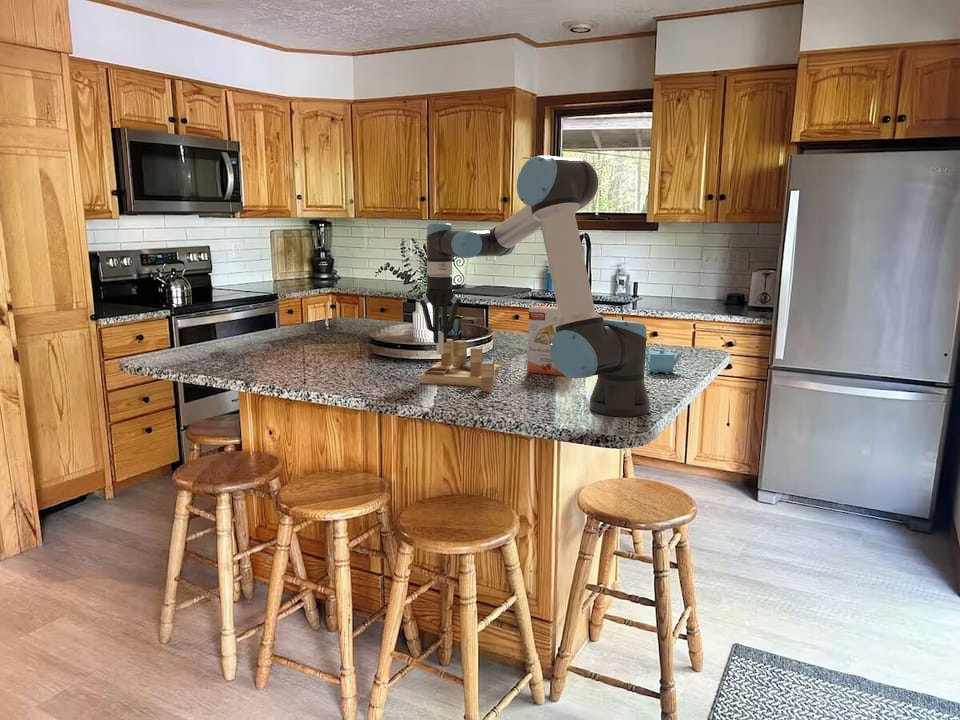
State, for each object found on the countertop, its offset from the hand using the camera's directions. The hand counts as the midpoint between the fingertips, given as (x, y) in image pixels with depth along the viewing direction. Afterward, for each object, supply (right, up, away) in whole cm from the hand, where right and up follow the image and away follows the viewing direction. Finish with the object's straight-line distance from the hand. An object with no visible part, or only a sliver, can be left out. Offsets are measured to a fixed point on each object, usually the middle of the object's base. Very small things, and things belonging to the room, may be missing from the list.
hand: (440, 353), depth 218 cm
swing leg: (+9, -5, 0) cm, 10 cm away
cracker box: (+35, -6, +8) cm, 36 cm away
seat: (+6, -7, +1) cm, 10 cm away
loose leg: (+14, -11, -15) cm, 23 cm away
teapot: (+71, -6, +10) cm, 72 cm away
